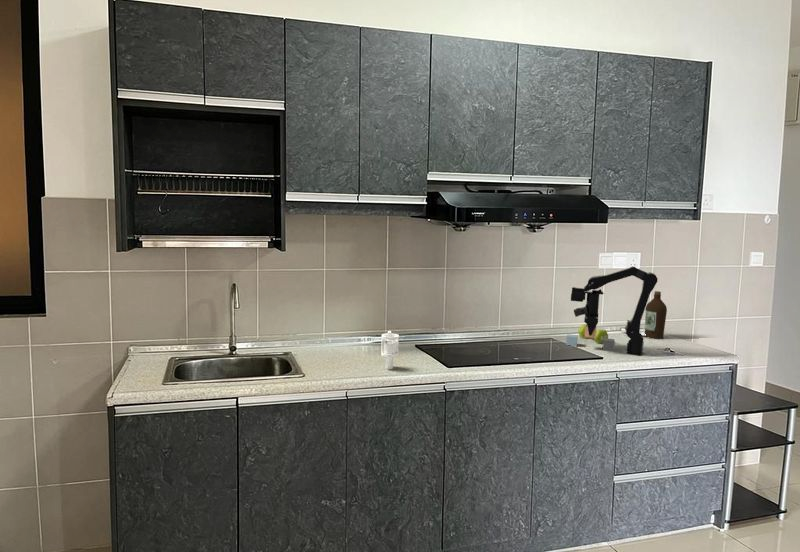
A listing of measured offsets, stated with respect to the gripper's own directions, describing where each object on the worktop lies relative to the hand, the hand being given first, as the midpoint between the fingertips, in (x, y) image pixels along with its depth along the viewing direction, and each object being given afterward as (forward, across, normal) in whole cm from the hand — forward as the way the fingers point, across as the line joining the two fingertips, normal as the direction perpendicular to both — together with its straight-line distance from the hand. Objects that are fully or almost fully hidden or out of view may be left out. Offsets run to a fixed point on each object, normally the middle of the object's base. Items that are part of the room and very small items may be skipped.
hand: (590, 334), depth 291 cm
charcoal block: (+7, -3, +9) cm, 12 cm away
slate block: (+7, -4, -8) cm, 12 cm away
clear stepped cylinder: (+8, +74, -78) cm, 107 cm away
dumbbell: (+8, -21, +1) cm, 22 cm away
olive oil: (+8, -44, +32) cm, 56 cm away
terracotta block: (+1, 0, 0) cm, 1 cm away
